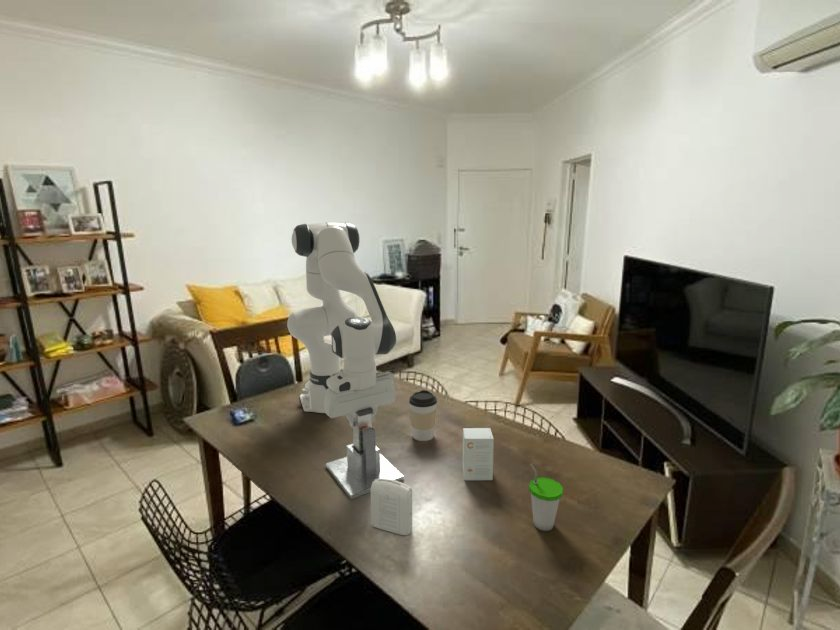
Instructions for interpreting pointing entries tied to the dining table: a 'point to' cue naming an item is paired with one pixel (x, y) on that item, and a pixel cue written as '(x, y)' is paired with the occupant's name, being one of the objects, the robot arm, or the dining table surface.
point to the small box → (478, 454)
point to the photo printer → (391, 506)
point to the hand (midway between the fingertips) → (361, 423)
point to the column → (361, 427)
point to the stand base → (362, 467)
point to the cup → (544, 501)
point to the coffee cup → (423, 415)
